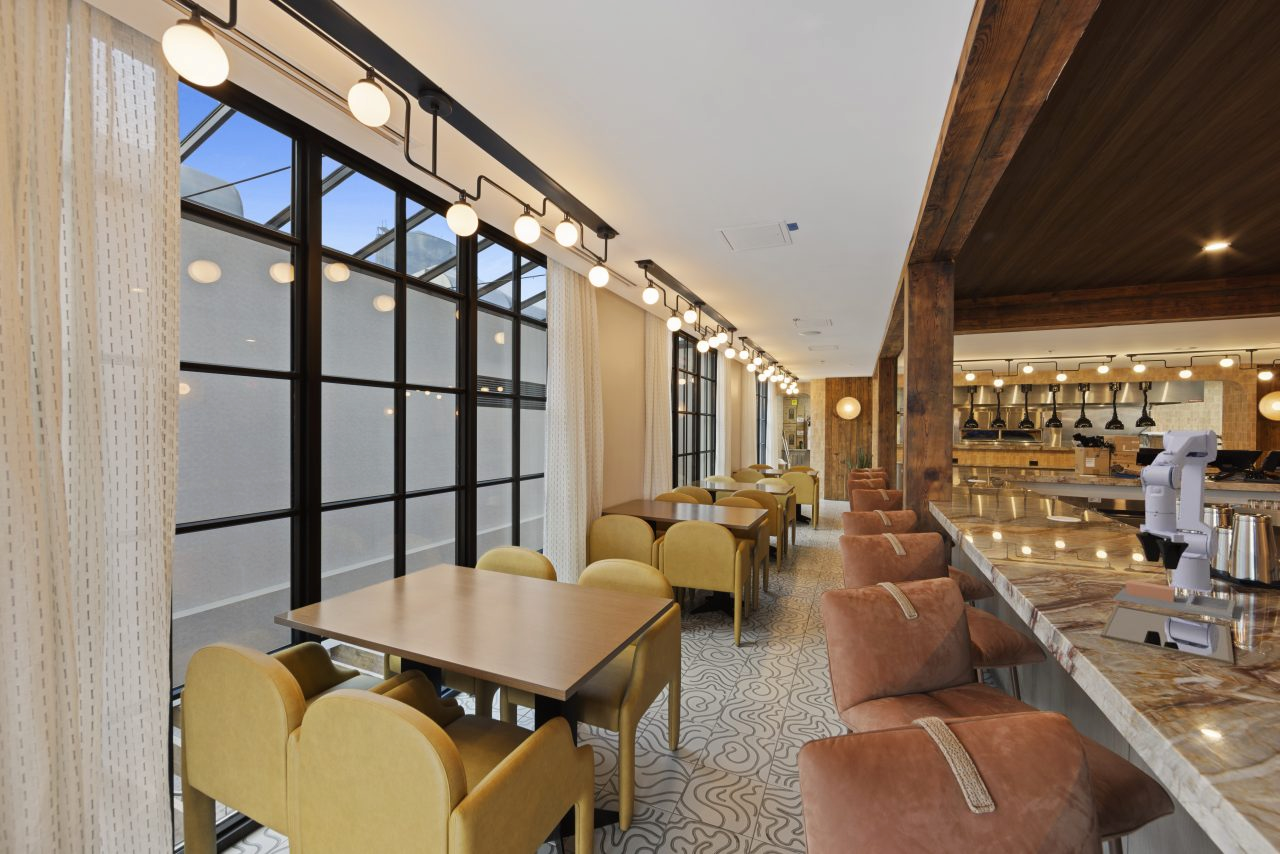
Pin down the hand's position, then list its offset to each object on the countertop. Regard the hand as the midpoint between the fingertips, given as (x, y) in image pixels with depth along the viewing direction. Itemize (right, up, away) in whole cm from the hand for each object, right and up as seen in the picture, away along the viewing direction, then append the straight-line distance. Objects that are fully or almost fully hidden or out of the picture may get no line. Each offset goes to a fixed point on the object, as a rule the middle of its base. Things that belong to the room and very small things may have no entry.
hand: (1161, 565), depth 138 cm
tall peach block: (+1, -9, +4) cm, 10 cm away
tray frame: (+6, -9, -6) cm, 13 cm away
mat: (+2, -10, -1) cm, 10 cm away
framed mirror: (-18, -10, -20) cm, 29 cm away
